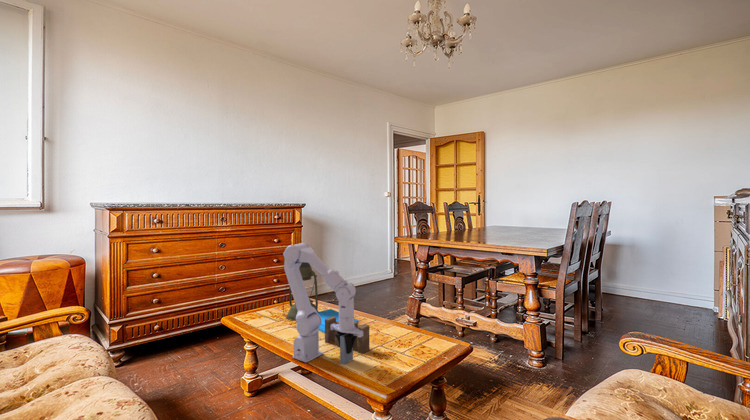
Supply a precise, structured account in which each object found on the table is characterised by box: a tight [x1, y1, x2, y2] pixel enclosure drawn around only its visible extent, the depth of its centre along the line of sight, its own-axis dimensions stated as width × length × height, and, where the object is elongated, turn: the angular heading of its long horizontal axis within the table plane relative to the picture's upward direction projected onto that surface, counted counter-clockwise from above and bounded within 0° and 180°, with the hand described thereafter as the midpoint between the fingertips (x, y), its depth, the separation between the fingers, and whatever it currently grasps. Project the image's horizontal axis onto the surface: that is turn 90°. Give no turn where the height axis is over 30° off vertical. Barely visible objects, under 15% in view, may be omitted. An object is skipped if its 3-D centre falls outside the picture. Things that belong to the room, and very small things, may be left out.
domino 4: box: [353, 321, 358, 349], centre depth 146 cm, size 2×5×10 cm, turn 145°
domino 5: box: [357, 323, 370, 354], centre depth 142 cm, size 2×5×10 cm, turn 145°
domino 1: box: [324, 316, 336, 344], centre depth 153 cm, size 2×5×10 cm, turn 145°
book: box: [317, 308, 360, 334], centre depth 173 cm, size 17×4×25 cm
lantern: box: [282, 262, 319, 322], centre depth 188 cm, size 21×18×30 cm
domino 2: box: [334, 321, 340, 347], centre depth 149 cm, size 2×5×10 cm, turn 145°
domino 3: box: [339, 333, 354, 365], centre depth 133 cm, size 2×5×10 cm, turn 145°
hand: (346, 352), depth 133 cm, fingers closed on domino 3, 2 cm apart
